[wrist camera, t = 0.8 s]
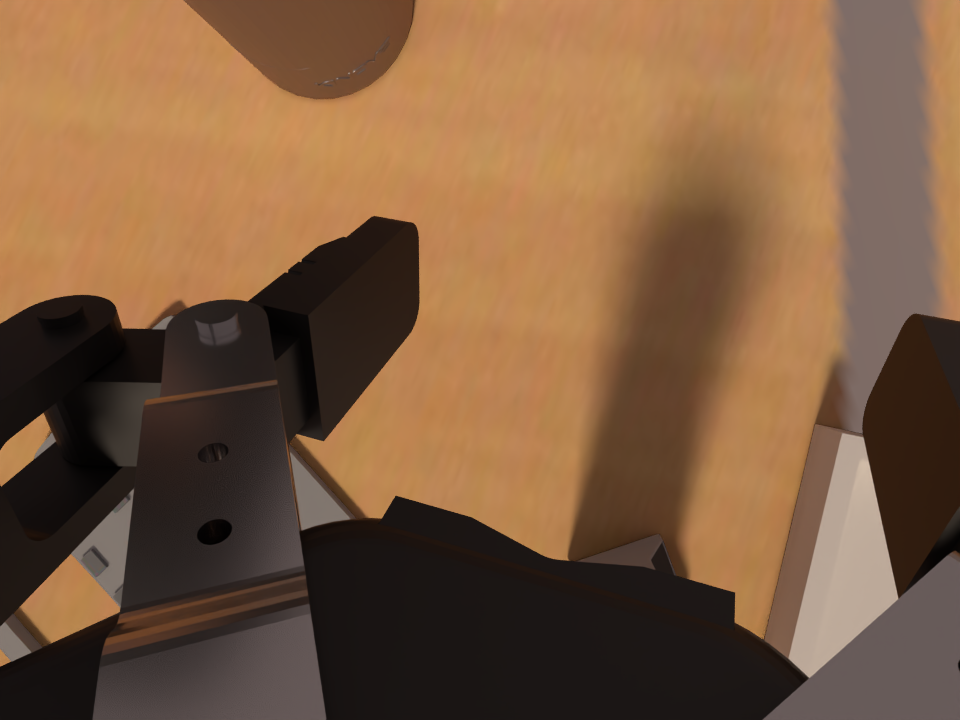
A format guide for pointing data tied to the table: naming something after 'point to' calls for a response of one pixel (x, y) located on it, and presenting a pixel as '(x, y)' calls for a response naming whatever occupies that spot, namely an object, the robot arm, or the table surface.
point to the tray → (831, 555)
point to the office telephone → (110, 537)
